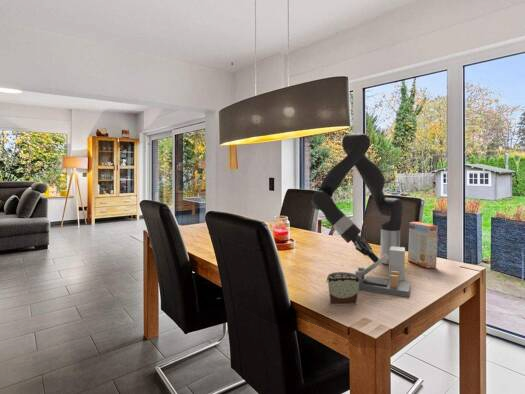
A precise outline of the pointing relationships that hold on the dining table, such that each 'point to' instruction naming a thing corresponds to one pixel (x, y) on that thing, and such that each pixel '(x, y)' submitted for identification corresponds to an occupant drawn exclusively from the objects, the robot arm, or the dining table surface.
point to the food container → (343, 288)
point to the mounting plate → (384, 284)
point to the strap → (375, 264)
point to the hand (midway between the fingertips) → (376, 260)
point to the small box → (397, 261)
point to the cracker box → (423, 244)
